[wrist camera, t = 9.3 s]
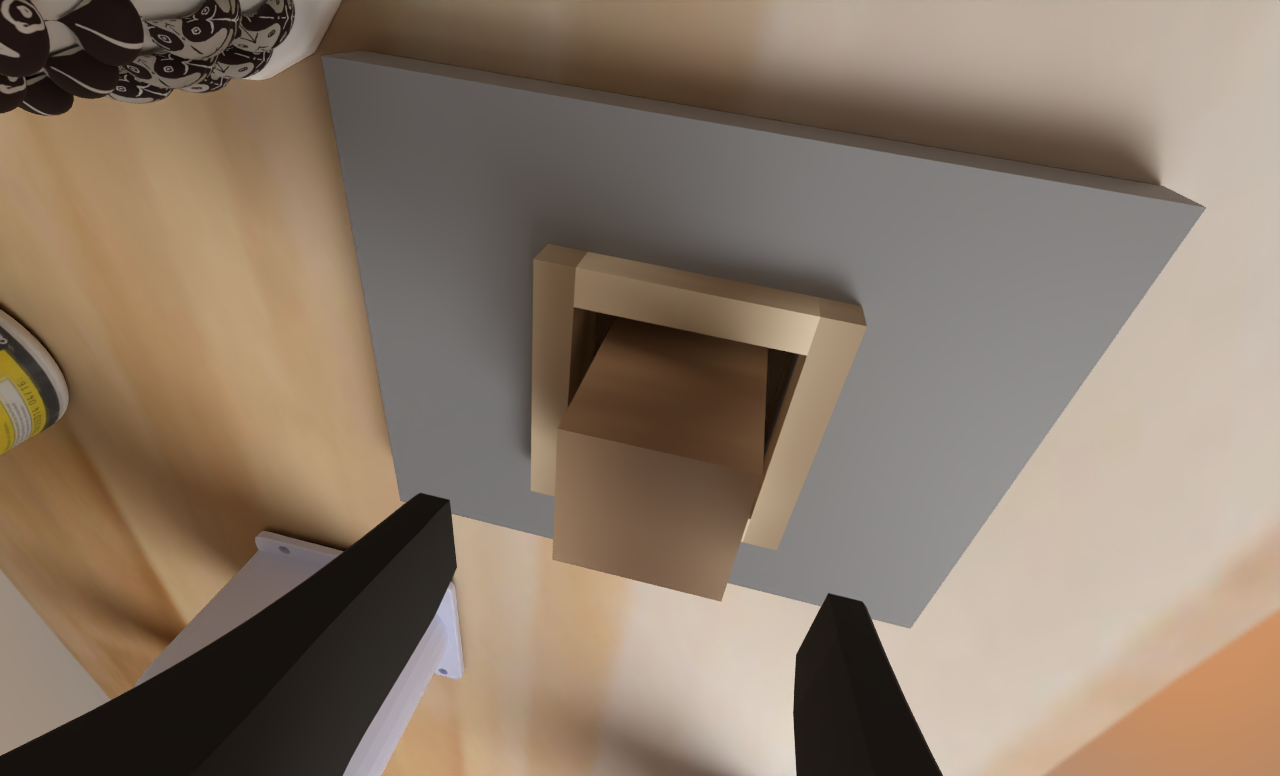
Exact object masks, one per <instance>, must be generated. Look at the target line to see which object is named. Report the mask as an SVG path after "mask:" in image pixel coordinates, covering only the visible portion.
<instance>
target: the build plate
mask: <svg viewBox="0 0 1280 776" xmlns="http://www.w3.org/2000/svg"><path fill="white" fill-rule="evenodd" d="M321 59H322V65H323V70H324V76H325V82H326V87H327V93H328V98H329V104H330V109H331V115H332V121H333V126H334V132H335V137H336V143H337V149H338V154H339V160H340V165H341V171H342V176H343V182H344V188H345V193H346V199H347V204H348V210H349V216H350V221H351V227H352V232H353V238H354V244H355V249H356V255H357V260H358V266H359V271H360V277H361V283H362V288H363V294H364V299H365V305H366V311H367V316H368V322H369V327H370V333H371V338H372V344H373V350H374V355H375V361H376V366H377V372H378V378H379V383H380V389H381V394H382V400H383V406H384V411H385V417H386V422H387V428H388V433H389V439H390V445H391V450H392V456H393V461H394V467H395V473H396V478H397V484H398V489H399V495H400V501H403V502H408V501H409V500H410V499H411V498H413V497H414V496H415V495H417V494H419V493H424V494H428V495H432V496H436V497H440V498H444V499H448V500H450V506H451V514H455V515H459V516H463V517H467V518H471V519H475V520H479V521H483V522H487V523H491V524H495V525H499V526H503V527H507V528H511V529H515V530H519V531H523V532H527V533H531V534H535V535H539V536H543V537H547V538H551V539H553V532H554V505H555V477H556V450H557V428H558V426H559V424H560V423H561V421H562V419H563V417H564V415H565V413H566V411H567V409H568V407H569V405H570V403H571V402H572V400H573V398H574V396H575V394H576V392H577V390H578V388H579V386H580V384H581V382H582V381H583V379H584V377H585V375H586V373H587V371H588V369H589V367H590V365H591V363H592V361H593V352H594V341H595V329H596V317H597V312H600V313H605V314H609V315H614V316H619V317H624V318H629V319H633V320H638V321H643V322H648V323H653V324H657V325H662V326H667V327H672V328H677V329H681V330H686V331H691V332H696V333H700V334H705V335H710V336H715V337H720V338H724V339H729V340H734V341H739V342H744V343H748V344H753V345H758V346H763V347H768V348H772V349H777V350H782V351H787V352H789V355H788V358H787V361H786V364H785V367H784V370H783V373H782V377H781V380H780V383H779V386H778V389H777V392H776V395H775V398H774V401H773V405H772V408H771V411H770V414H769V417H768V420H767V423H766V426H765V433H764V457H763V475H762V479H761V482H760V485H759V488H758V491H757V494H756V497H755V500H754V503H753V506H752V509H751V512H750V515H749V518H748V521H747V524H746V527H745V530H744V533H743V536H742V539H741V543H740V546H739V549H738V552H737V555H736V558H735V561H734V564H733V567H732V570H731V573H730V576H729V579H728V582H727V583H730V584H734V585H738V586H742V587H746V588H750V589H754V590H758V591H762V592H766V593H770V594H774V595H778V596H782V597H786V598H790V599H794V600H798V601H802V602H806V603H810V604H814V605H818V606H822V604H823V602H824V600H825V598H826V596H827V594H828V593H830V594H834V595H838V596H843V597H847V598H851V599H855V600H859V601H863V603H864V604H865V606H866V607H867V609H868V612H869V614H870V617H871V619H874V620H878V621H882V622H886V623H890V624H894V625H898V626H902V627H906V628H911V627H912V626H913V624H914V623H915V621H916V620H917V618H918V617H919V616H920V614H921V613H922V611H923V610H924V608H925V607H926V606H927V604H928V603H929V601H930V600H931V599H932V597H933V596H934V594H935V593H936V591H937V590H938V589H939V587H940V586H941V584H942V583H943V581H944V580H945V579H946V577H947V576H948V574H949V573H950V571H951V570H952V569H953V567H954V566H955V564H956V563H957V562H958V560H959V559H960V557H961V556H962V554H963V553H964V552H965V550H966V549H967V547H968V546H969V544H970V543H971V542H972V540H973V539H974V537H975V536H976V534H977V533H978V532H979V530H980V529H981V527H982V526H983V525H984V523H985V522H986V520H987V519H988V517H989V516H990V515H991V513H992V512H993V510H994V509H995V507H996V506H997V505H998V503H999V502H1000V500H1001V499H1002V497H1003V496H1004V495H1005V493H1006V492H1007V490H1008V489H1009V488H1010V486H1011V485H1012V483H1013V482H1014V480H1015V479H1016V478H1017V476H1018V475H1019V473H1020V472H1021V470H1022V469H1023V468H1024V466H1025V465H1026V463H1027V462H1028V460H1029V459H1030V458H1031V456H1032V455H1033V453H1034V452H1035V451H1036V449H1037V448H1038V446H1039V445H1040V443H1041V442H1042V441H1043V439H1044V438H1045V436H1046V435H1047V433H1048V432H1049V431H1050V429H1051V428H1052V426H1053V425H1054V423H1055V422H1056V421H1057V419H1058V418H1059V416H1060V415H1061V414H1062V412H1063V411H1064V409H1065V408H1066V406H1067V405H1068V404H1069V402H1070V401H1071V399H1072V398H1073V396H1074V395H1075V394H1076V392H1077V391H1078V389H1079V388H1080V386H1081V385H1082V384H1083V382H1084V381H1085V379H1086V378H1087V377H1088V375H1089V374H1090V372H1091V371H1092V369H1093V368H1094V367H1095V365H1096V364H1097V362H1098V361H1099V359H1100V358H1101V357H1102V355H1103V354H1104V352H1105V351H1106V349H1107V348H1108V347H1109V345H1110V344H1111V342H1112V341H1113V340H1114V338H1115V337H1116V335H1117V334H1118V332H1119V331H1120V330H1121V328H1122V327H1123V325H1124V324H1125V322H1126V321H1127V320H1128V318H1129V317H1130V315H1131V314H1132V312H1133V311H1134V310H1135V308H1136V307H1137V305H1138V304H1139V303H1140V301H1141V300H1142V298H1143V297H1144V295H1145V294H1146V293H1147V291H1148V290H1149V288H1150V287H1151V285H1152V284H1153V283H1154V281H1155V280H1156V278H1157V277H1158V275H1159V274H1160V273H1161V271H1162V270H1163V268H1164V267H1165V266H1166V264H1167V263H1168V261H1169V260H1170V258H1171V257H1172V256H1173V254H1174V253H1175V251H1176V250H1177V248H1178V247H1179V246H1180V244H1181V243H1182V241H1183V240H1184V238H1185V237H1186V236H1187V234H1188V233H1189V231H1190V230H1191V229H1192V227H1193V226H1194V224H1195V223H1196V221H1197V220H1198V219H1199V217H1200V216H1201V214H1202V213H1203V211H1204V210H1205V209H1206V207H1204V206H1202V205H1200V204H1198V203H1196V202H1194V201H1192V200H1190V199H1188V198H1186V197H1184V196H1182V195H1180V194H1178V193H1176V192H1174V191H1172V190H1170V189H1168V188H1166V187H1164V186H1160V185H1154V184H1148V183H1142V182H1136V181H1130V180H1124V179H1118V178H1112V177H1107V176H1101V175H1095V174H1089V173H1083V172H1077V171H1071V170H1065V169H1059V168H1053V167H1048V166H1042V165H1036V164H1030V163H1024V162H1018V161H1012V160H1006V159H1000V158H994V157H989V156H983V155H977V154H971V153H965V152H959V151H953V150H947V149H941V148H935V147H930V146H924V145H918V144H912V143H906V142H900V141H894V140H888V139H882V138H877V137H871V136H865V135H859V134H853V133H847V132H841V131H835V130H829V129H823V128H818V127H812V126H806V125H800V124H794V123H788V122H782V121H776V120H770V119H764V118H759V117H753V116H747V115H741V114H735V113H729V112H723V111H717V110H711V109H705V108H700V107H694V106H688V105H682V104H676V103H670V102H664V101H658V100H652V99H647V98H641V97H635V96H629V95H623V94H617V93H611V92H605V91H599V90H593V89H588V88H582V87H576V86H570V85H564V84H558V83H552V82H546V81H540V80H534V79H529V78H523V77H517V76H511V75H505V74H499V73H493V72H487V71H481V70H475V69H470V68H464V67H458V66H452V65H446V64H440V63H434V62H428V61H422V60H417V59H411V58H405V57H399V56H393V55H387V54H381V53H375V52H369V51H363V50H360V51H352V52H344V53H336V54H328V55H321Z"/></svg>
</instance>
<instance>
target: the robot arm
mask: <svg viewBox="0 0 1280 776" xmlns="http://www.w3.org/2000/svg"><path fill="white" fill-rule="evenodd" d="M255 543H256V546H257V548H258V550H259V551H257V552H256V553H255V554H254V556H253V557H252V558H251V559H250V560H249V561H248V562H247V563H246V564H245V565H244V566H243V567H242V568H241V569H240V570H239V571H238V572H237V573H236V574H235V576H234V577H233V578H232V579H231V580H230V581H229V582H228V583H227V584H226V585H225V586H224V587H223V588H222V589H221V590H220V591H219V592H218V593H217V594H216V596H215V597H214V598H213V599H212V600H211V601H210V602H209V603H208V604H207V605H206V606H205V607H204V608H203V609H202V610H201V611H200V612H199V613H198V614H197V616H196V617H195V618H194V619H193V620H192V621H191V622H190V623H189V624H188V625H187V626H186V627H185V628H184V629H183V630H182V631H181V632H180V633H179V635H178V636H177V637H176V638H175V639H174V640H173V641H172V642H171V643H170V644H169V645H168V646H167V647H166V648H165V649H164V650H163V651H162V652H161V653H160V655H159V656H158V657H157V658H156V659H155V660H154V661H153V662H152V663H151V665H150V666H149V667H148V668H147V669H146V671H145V672H144V673H143V675H142V676H141V677H140V679H139V680H138V681H137V683H136V684H135V686H134V688H133V689H131V690H129V691H127V692H125V693H124V694H122V695H120V696H118V697H116V698H114V699H112V700H111V701H109V702H107V703H105V704H103V705H101V706H99V707H97V708H96V709H94V710H92V711H90V712H88V713H86V714H84V715H82V716H80V717H78V718H76V719H74V720H72V721H70V722H68V723H66V724H64V725H62V726H60V727H58V728H56V729H54V730H52V731H50V732H48V733H46V734H44V735H42V736H40V737H38V738H36V739H34V740H32V741H30V742H28V743H26V744H24V745H22V746H20V747H18V748H16V749H14V750H11V751H9V752H7V753H5V754H3V755H1V756H0V776H381V775H382V773H383V771H384V769H385V767H386V765H387V763H388V761H389V759H390V758H391V756H392V754H393V752H394V750H395V748H396V746H397V744H398V742H399V740H400V738H401V736H402V734H403V732H404V730H405V728H406V727H407V725H408V723H409V721H410V719H411V717H412V715H413V713H414V711H415V709H416V707H417V705H418V703H419V701H420V699H421V698H422V696H423V694H424V692H425V690H426V688H427V686H428V684H429V682H430V680H431V678H432V676H433V674H434V673H435V674H438V675H442V676H446V677H449V678H453V679H459V678H461V677H462V675H463V673H464V661H463V652H462V643H461V635H460V626H459V617H458V608H457V599H456V590H455V586H454V584H453V583H452V582H451V579H452V577H453V575H454V573H455V570H456V568H457V564H456V554H455V544H454V535H453V525H452V515H451V506H450V500H448V499H444V498H440V497H436V496H432V495H428V494H424V493H419V494H417V495H415V496H414V497H413V498H411V499H410V500H409V501H408V502H406V503H405V504H404V505H403V506H401V507H400V508H399V509H398V510H396V511H395V512H394V513H393V514H391V515H390V516H389V517H388V518H386V519H385V520H384V521H382V522H381V523H380V524H379V525H377V526H376V527H375V528H374V529H372V530H371V531H370V532H369V533H367V534H366V535H365V536H363V537H362V538H361V539H360V540H358V541H357V542H356V543H354V544H353V545H352V546H351V547H349V548H348V549H347V550H345V551H340V550H337V549H333V548H329V547H325V546H321V545H318V544H314V543H310V542H306V541H302V540H299V539H295V538H291V537H287V536H283V535H279V534H276V533H272V532H268V531H262V532H260V533H259V534H258V535H257V536H256V537H255ZM793 717H794V736H795V754H796V772H797V776H943V775H942V773H941V771H940V769H939V767H938V765H937V763H936V761H935V759H934V757H933V755H932V753H931V751H930V749H929V747H928V745H927V743H926V741H925V739H924V736H923V734H922V732H921V730H920V728H919V726H918V724H917V722H916V720H915V718H914V716H913V714H912V712H911V709H910V707H909V705H908V703H907V701H906V699H905V696H904V694H903V692H902V690H901V688H900V685H899V683H898V681H897V679H896V676H895V674H894V672H893V670H892V667H891V665H890V663H889V660H888V658H887V656H886V653H885V651H884V649H883V646H882V644H881V641H880V639H879V637H878V634H877V632H876V629H875V627H874V624H873V622H872V619H871V617H870V614H869V612H868V609H867V607H866V606H865V604H864V603H863V601H859V600H855V599H851V598H847V597H843V596H838V595H834V594H830V593H828V594H827V596H826V598H825V600H824V602H823V604H822V606H821V608H820V610H819V612H818V614H817V616H816V618H815V620H814V622H813V623H812V625H811V627H810V629H809V631H808V633H807V635H806V637H805V639H804V641H803V643H802V645H801V647H800V649H799V650H798V652H797V654H796V668H795V686H794V710H793Z"/></svg>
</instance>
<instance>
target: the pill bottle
mask: <svg viewBox="0 0 1280 776" xmlns="http://www.w3.org/2000/svg"><path fill="white" fill-rule="evenodd" d="M68 402H69V393H68V388H67V385H66V382H65V379H64V377H63V374H62V372H61V371H60V369H59V367H58V365H57V364H56V362H55V361H54V360H53V358H52V357H51V355H50V354H49V353H48V351H47V350H46V349H45V348H44V347H43V346H42V344H41V343H40V342H39V341H38V340H37V339H36V338H35V337H34V336H33V335H32V334H31V333H30V332H29V331H27V330H26V329H25V328H24V327H23V326H22V325H21V324H19V323H18V322H17V321H16V320H15V319H13V318H12V317H10V316H9V315H8V314H6V313H5V312H3V311H2V310H1V309H0V455H2V454H3V453H5V452H7V451H8V450H10V449H12V448H14V447H15V446H17V445H19V444H20V443H22V442H24V441H26V440H27V439H29V438H31V437H32V436H34V435H36V434H37V433H39V432H41V431H43V430H45V429H46V428H48V427H49V426H51V425H52V424H54V423H55V422H57V421H58V420H59V419H60V418H61V417H62V416H63V415H64V413H65V411H66V409H67V406H68Z"/></svg>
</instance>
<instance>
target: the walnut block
mask: <svg viewBox="0 0 1280 776" xmlns="http://www.w3.org/2000/svg"><path fill="white" fill-rule="evenodd" d="M767 361H768V347H763V346H758V345H753V344H748V343H744V342H739V341H734V340H729V339H724V338H720V337H715V336H710V335H705V334H700V333H696V332H691V331H686V330H681V329H677V328H672V327H667V326H662V325H657V324H653V323H648V322H643V321H638V320H633V319H629V318H624V317H619V316H616V318H615V319H614V321H613V323H612V325H611V327H610V329H609V331H608V333H607V335H606V337H605V339H604V340H603V342H602V344H601V346H600V348H599V350H598V352H597V354H596V356H595V358H594V360H593V361H592V363H591V365H590V367H589V369H588V371H587V373H586V375H585V377H584V379H583V381H582V382H581V384H580V386H579V388H578V390H577V392H576V394H575V396H574V398H573V400H572V402H571V403H570V405H569V407H568V409H567V411H566V413H565V415H564V417H563V419H562V421H561V423H560V424H559V426H558V428H557V450H556V477H555V505H554V532H553V560H556V561H560V562H564V563H568V564H572V565H576V566H580V567H584V568H588V569H592V570H596V571H600V572H604V573H608V574H612V575H617V576H621V577H625V578H629V579H633V580H637V581H641V582H645V583H649V584H653V585H657V586H661V587H665V588H669V589H673V590H677V591H681V592H685V593H689V594H693V595H697V596H701V597H705V598H709V599H713V600H717V601H721V600H722V597H723V594H724V591H725V588H726V585H727V582H728V579H729V576H730V573H731V570H732V567H733V564H734V561H735V558H736V555H737V552H738V549H739V546H740V543H741V539H742V536H743V533H744V530H745V527H746V524H747V521H748V518H749V515H750V512H751V509H752V506H753V503H754V500H755V497H756V494H757V491H758V488H759V485H760V482H761V479H762V475H763V457H764V433H765V409H766V385H767Z"/></svg>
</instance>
